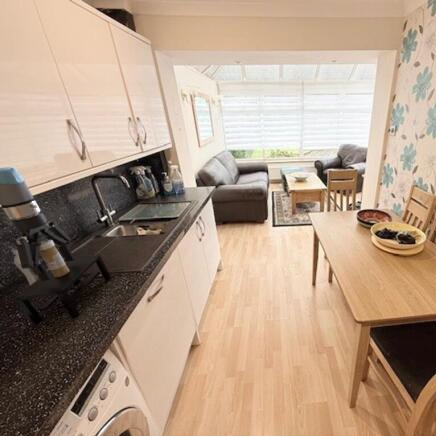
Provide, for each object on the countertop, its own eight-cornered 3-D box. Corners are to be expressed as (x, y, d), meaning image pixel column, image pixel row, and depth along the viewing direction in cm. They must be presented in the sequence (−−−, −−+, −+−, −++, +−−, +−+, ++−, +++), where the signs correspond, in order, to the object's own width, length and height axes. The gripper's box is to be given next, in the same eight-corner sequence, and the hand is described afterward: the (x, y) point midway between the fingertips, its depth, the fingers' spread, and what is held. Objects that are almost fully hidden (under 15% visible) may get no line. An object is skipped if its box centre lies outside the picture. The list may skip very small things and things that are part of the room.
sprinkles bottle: (50, 277, 86) (30, 246, 80) (62, 269, 90) (44, 239, 84) (62, 277, 86) (42, 246, 80) (73, 269, 90) (55, 239, 84)
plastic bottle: (34, 288, 101) (7, 248, 92) (55, 280, 105) (31, 241, 96) (33, 295, 96) (4, 254, 88) (55, 287, 100) (29, 247, 91)
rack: (34, 324, 83) (14, 298, 77) (76, 282, 102) (63, 259, 97) (77, 317, 84) (60, 291, 79) (111, 277, 104) (99, 254, 98)
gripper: (5, 230, 67) (45, 290, 77) (64, 201, 88) (90, 250, 98) (-25, 234, 67) (19, 293, 76) (42, 203, 88) (70, 253, 97)
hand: (59, 269), depth 87 cm, fingers open, 11 cm apart
